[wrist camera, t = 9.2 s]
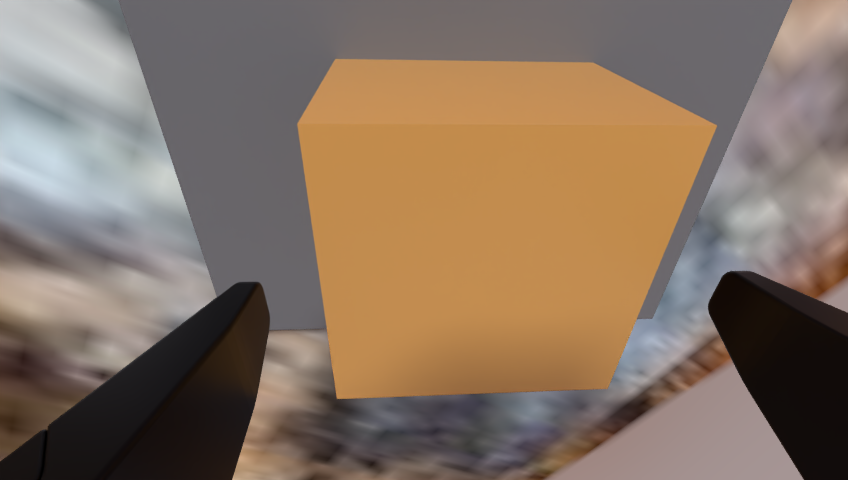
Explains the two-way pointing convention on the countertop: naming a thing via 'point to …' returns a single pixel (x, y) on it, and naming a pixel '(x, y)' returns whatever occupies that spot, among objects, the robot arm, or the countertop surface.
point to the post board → (399, 40)
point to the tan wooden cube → (488, 220)
